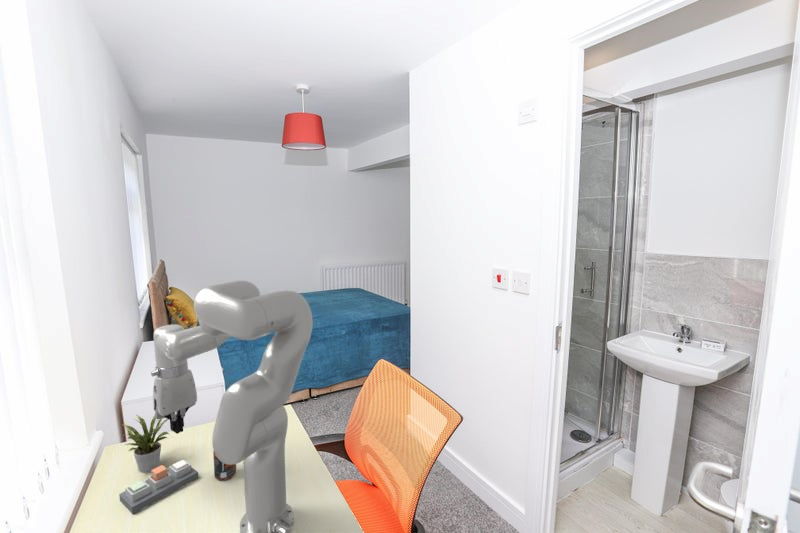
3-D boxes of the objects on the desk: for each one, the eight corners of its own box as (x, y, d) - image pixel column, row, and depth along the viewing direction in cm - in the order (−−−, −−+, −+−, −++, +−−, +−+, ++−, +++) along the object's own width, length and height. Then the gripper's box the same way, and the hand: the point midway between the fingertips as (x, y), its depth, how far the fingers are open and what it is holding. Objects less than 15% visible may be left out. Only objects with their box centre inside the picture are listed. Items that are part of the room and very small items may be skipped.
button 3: (187, 471, 115) (187, 463, 115) (177, 476, 113) (177, 468, 113) (182, 467, 117) (182, 459, 116) (173, 472, 115) (172, 464, 114)
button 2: (167, 476, 111) (166, 468, 110) (156, 482, 108) (155, 474, 108) (162, 472, 112) (162, 464, 112) (152, 478, 110) (151, 470, 109)
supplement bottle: (228, 483, 113) (226, 446, 112) (210, 480, 115) (207, 443, 113) (240, 469, 119) (239, 434, 117) (223, 467, 120) (221, 432, 119)
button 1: (146, 493, 106) (145, 484, 106) (134, 499, 104) (133, 490, 104) (141, 488, 108) (140, 480, 108) (130, 494, 106) (129, 486, 105)
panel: (198, 478, 115) (197, 465, 115) (132, 514, 102) (131, 500, 101) (184, 467, 120) (183, 455, 119) (119, 500, 106) (118, 487, 106)
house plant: (178, 445, 131) (175, 399, 128) (182, 469, 119) (178, 418, 117) (126, 460, 123) (121, 411, 120) (125, 486, 111) (119, 433, 109)
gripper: (149, 382, 102) (155, 448, 105) (206, 364, 114) (210, 423, 117) (136, 375, 106) (142, 438, 109) (192, 358, 118) (196, 416, 121)
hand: (177, 430), depth 113 cm, fingers closed
